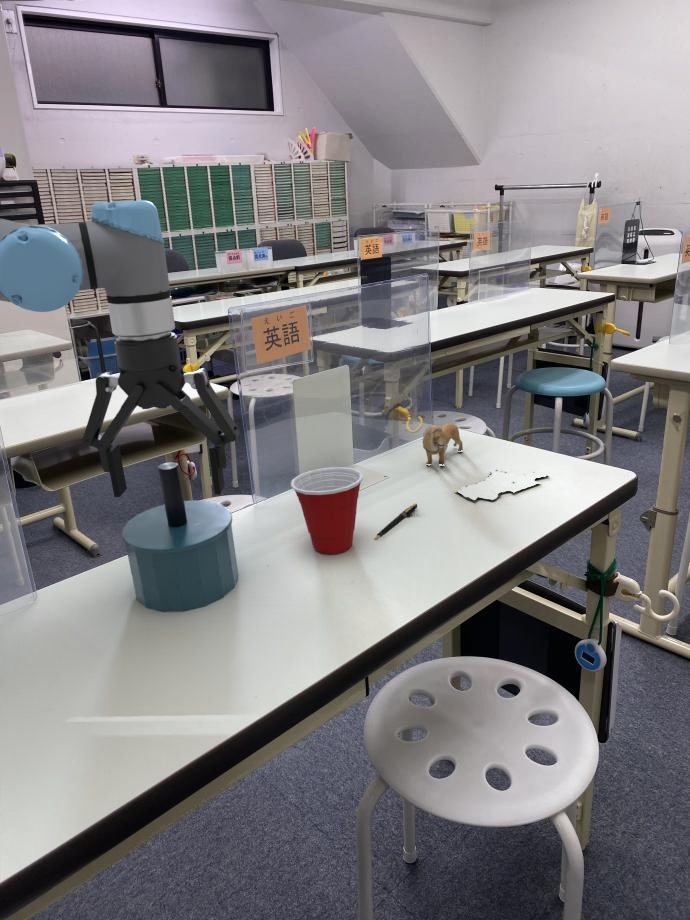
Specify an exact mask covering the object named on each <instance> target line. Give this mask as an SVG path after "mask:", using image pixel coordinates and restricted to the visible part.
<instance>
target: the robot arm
mask: <svg viewBox="0 0 690 920" xmlns="http://www.w3.org/2000/svg"><path fill="white" fill-rule="evenodd" d="M90 211H91V216H90V220H85V221H79V222H71V223H70V222H69V223H45V224H44V223H43V224H27V223H22V222H17V221H13V220H9V219H5V218H0V301H1V302H6V303H11V304H14V305H15V306H17V307H19V308H21V309H23V310H26V311H31V312H34V313H35V312H37V313H49V312H54V311H57V310H60V309H61V308H63V307H65V306H66V305H67V304H69V303H70V302H72V301H73V300H74V299H75V297H76V296H77V295H78V294H79V291H88V290H98V289H104V291H105V294H106V296H105V297H106V302H107V307H108V313H109V319H110V326H111V332H112V335H114V336H116V337H117V338H116V339H115V341H114V348H115V355H116V359H117V360H116V361H117V366H118V368H119V375H114V374H111V373H110V372H106V371H105V372H103V373H102V374H100V375H99V376H97V377H96V378H95V392H96V393H95V397H94V400H93V404H92V408H91V410H90V414H89V417H88V421H87V424H86V427H85V430H84V434H83V436H82V440H81V443H82V445H83V446H84V447H87V448H88V447H93V448H95V449H97V451H98V452H99V457H100V458H99V459H100V463H101V468H102V470H103V472H104V473H109V476H110V481H111V487H112V493H113V497H114V498H121V497H122V495H123V494H124V493H125V492H126V491H127V490H128V487H127V482H126V475H125V470H124V465H123V459H122V455H121V450H120V444H119V443H118V444H112V443H113V442H114V440H115V439H116V438H117V436H118V435H119V433H120V432H121V431H122V428H123V427H124V426H125V424H126V423H127V421H128V420H129V419H130V417H131V415H132V414H133V412H134V410H135V409H136V408H137V407H139V408H141V410H149V409H153V408H156V409H161V410H162V409H167V408H168V407H169V408H170V407H171V408H173V409H174V410H175V411H176V412H178V413H180V414H181V415H182V416H183V417H184V418H185V419H187V420H188V421H189V422H190V423H191V424H192V426H194V427H195V428H196V429H197V430H198V431H199V432H200V433H201V434H202V435H203V436H204V437H205V438H206V439H208V440H209V442H210V443H211V444H210V445H209V447H208V455H209V461H210V469H211V477H212V484H213V492H214V495H221V494H222V492H223V490H224V488H225V477H224V470H225V469H227V467H228V466H229V463H230V458H229V451H228V444H229V443H233V442H235V441H236V440H237V438H238V437H239V435H240V433H241V432H240V431H241V430H240V429H239V427H238V425H237V424H236V422H235V421H234V419H233V418H232V416H231V414H230V413H229V411H228V410H227V408H226V407H225V405H224V404H223V402H222V400H221V399H220V397H219V396H218V394H217V393H216V391H215V389H214V388H213V386H211V382H210V381H211V380H210V377H209V373H208V371H207V370H206V368H203V367H201V368H199V369H198V370H196V371H191V372H185V371H184V370H183V368H182V364H181V356H180V350H179V349H180V348H179V342H178V335H177V334H176V333H175V332H173V331H174V329H175V328H176V322H175V315H174V307H173V300H172V299H173V298H172V296H171V295H172V294H171V290H170V289H171V287H170V280H169V272H168V264H167V257H166V247H165V239H164V237H163V232H162V227H161V221H160V216H159V211H158V209H157V207H156V205H154V203H153V202H151V201H148V200H125V201H108V202H107V201H106V202H96V203H93V204H92V206H91V210H90ZM186 383H187V384H188V385H190V387H191V389H193V390H196V392H197V395H198V396H199V398H200V400H201V401H202V403H203V404H204V406H205V407H206V409H207V410H208V412H209V413H210V416H212V418H213V419H214V421H215V422H214V421H213V420H212V419H211V418H210V417H209V416H208V415H207V414H206V413H205V412H204V411H203V410H202V409H201V408H200V407H199V406H197V405H196V403H195V402H194V401H192V399H191V397H190V396H189V395H188V394H187V393H186V392H185V391H184V390H183V388H184V386H186ZM118 386H119V388H120V389H121V390H122V391H123V392H124V393H125V395H127V397H126V398H125V400H124V402H123V403H122V405H121V406H120V408H119V410H118V412H117V413H116V415H115V416H114V418H113V419H112V420H111V422H110V423H109V425H108V427H107V428H106V429H105V431H104V433H103V434H102V435H100V433H101V430H102V428H103V425H104V422H105V421H104V420H105V417H106V414H107V411H108V408H109V405H110V402H111V400H112V397H113V393H114V391H115V390H117V387H118ZM223 469H224V470H223Z"/></svg>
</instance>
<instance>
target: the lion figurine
mask: <svg viewBox="0 0 690 920" xmlns="http://www.w3.org/2000/svg"><path fill="white" fill-rule="evenodd" d="M422 435H423V438H422V448H423V449H424V450H425V453H426V454H425V455H426V457H427V458H426V459H427V461H426V462H425V465H426V464H432V465H433V456H435V455H438V465H439V464H442V465H443V464H444V463H445V454H446V451H447V449H448V445H449V443H450V441H451V440H452V441H453V442H454V443H453V447H458V449H457V450H458V451H461V450H463V451H464V447H463V445H464V444H463V441H462V439H461V437H460V429H459V427H458V426H457V425H456V424H455V423H452V422H450V423H445V424H443V425H442V426H438V425H436V424H433V425H429V426H427V428H425V430H424V431H423V434H422ZM457 445H458V446H457Z"/></svg>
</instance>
